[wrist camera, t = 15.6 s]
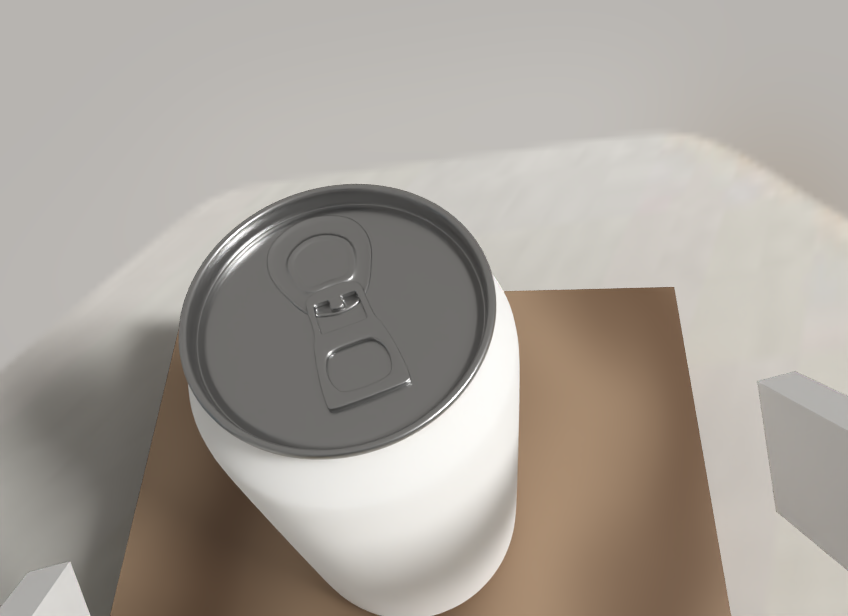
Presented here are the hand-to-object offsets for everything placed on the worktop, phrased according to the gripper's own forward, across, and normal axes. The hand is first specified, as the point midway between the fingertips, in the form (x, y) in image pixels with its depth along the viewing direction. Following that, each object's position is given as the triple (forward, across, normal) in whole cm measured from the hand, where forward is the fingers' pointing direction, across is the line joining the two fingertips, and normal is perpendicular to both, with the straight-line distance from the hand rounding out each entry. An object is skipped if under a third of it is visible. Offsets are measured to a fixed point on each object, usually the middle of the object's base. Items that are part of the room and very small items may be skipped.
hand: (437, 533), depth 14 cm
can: (+9, -1, -4) cm, 10 cm away
